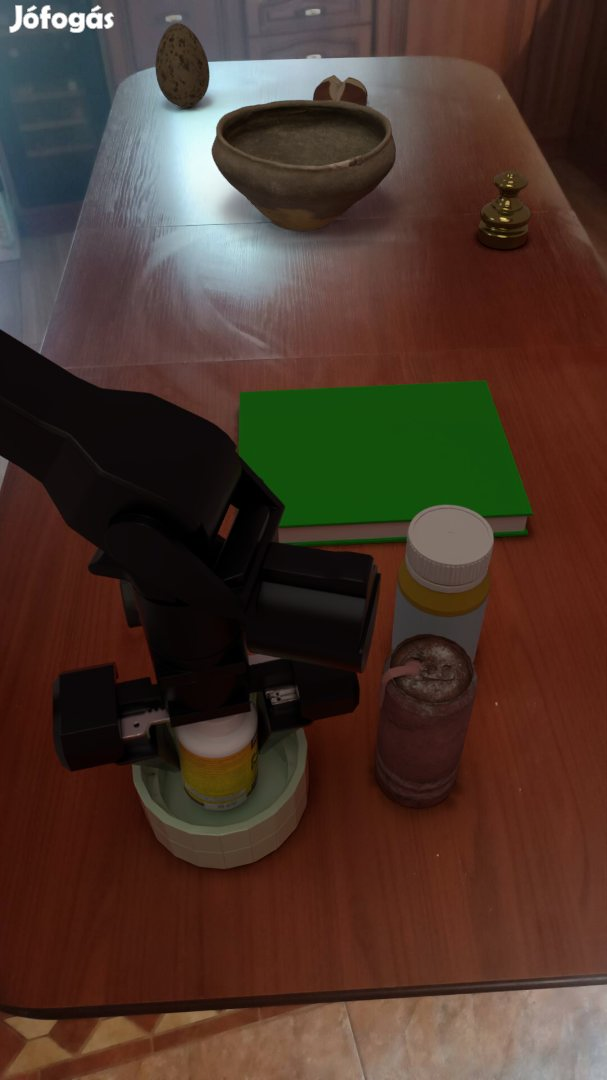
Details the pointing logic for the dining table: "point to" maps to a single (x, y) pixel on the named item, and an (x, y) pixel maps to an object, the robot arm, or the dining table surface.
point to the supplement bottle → (219, 760)
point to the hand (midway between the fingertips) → (219, 756)
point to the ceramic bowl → (237, 829)
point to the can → (423, 718)
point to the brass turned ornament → (505, 214)
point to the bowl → (304, 158)
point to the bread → (341, 90)
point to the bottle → (444, 576)
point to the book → (380, 459)
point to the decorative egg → (182, 67)
